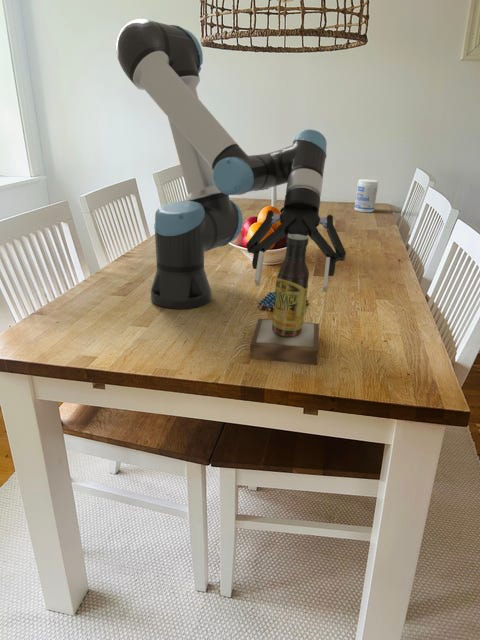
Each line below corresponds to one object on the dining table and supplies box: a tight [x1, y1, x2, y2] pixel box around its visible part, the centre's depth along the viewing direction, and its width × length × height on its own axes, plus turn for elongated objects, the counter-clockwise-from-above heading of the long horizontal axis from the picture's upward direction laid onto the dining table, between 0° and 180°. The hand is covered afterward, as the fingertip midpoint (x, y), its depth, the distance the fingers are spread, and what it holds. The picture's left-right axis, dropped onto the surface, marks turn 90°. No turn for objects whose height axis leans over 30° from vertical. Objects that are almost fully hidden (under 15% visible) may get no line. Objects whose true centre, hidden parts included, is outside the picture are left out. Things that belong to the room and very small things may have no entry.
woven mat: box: [257, 291, 310, 312], centre depth 122 cm, size 10×11×2 cm
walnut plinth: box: [249, 318, 320, 366], centre depth 100 cm, size 13×13×3 cm
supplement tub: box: [354, 178, 379, 213], centre depth 238 cm, size 10×10×15 cm
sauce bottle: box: [272, 234, 310, 337], centre depth 95 cm, size 7×6×20 cm
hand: (290, 286), depth 98 cm, fingers open, 13 cm apart
